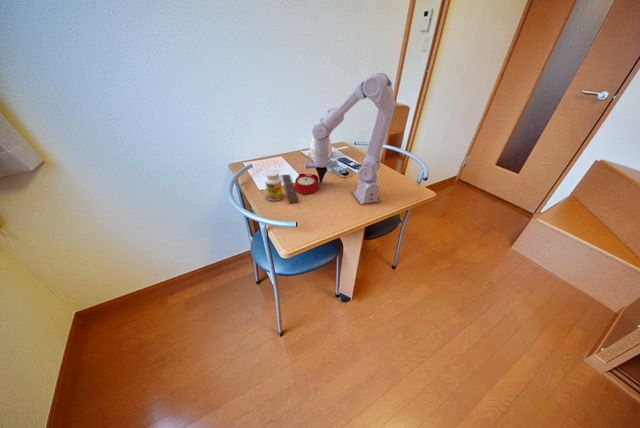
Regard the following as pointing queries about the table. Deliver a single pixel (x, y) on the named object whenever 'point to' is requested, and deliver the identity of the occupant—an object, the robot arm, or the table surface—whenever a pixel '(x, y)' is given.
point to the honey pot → (312, 147)
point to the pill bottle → (273, 186)
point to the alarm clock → (306, 183)
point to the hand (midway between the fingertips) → (320, 181)
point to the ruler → (289, 189)
